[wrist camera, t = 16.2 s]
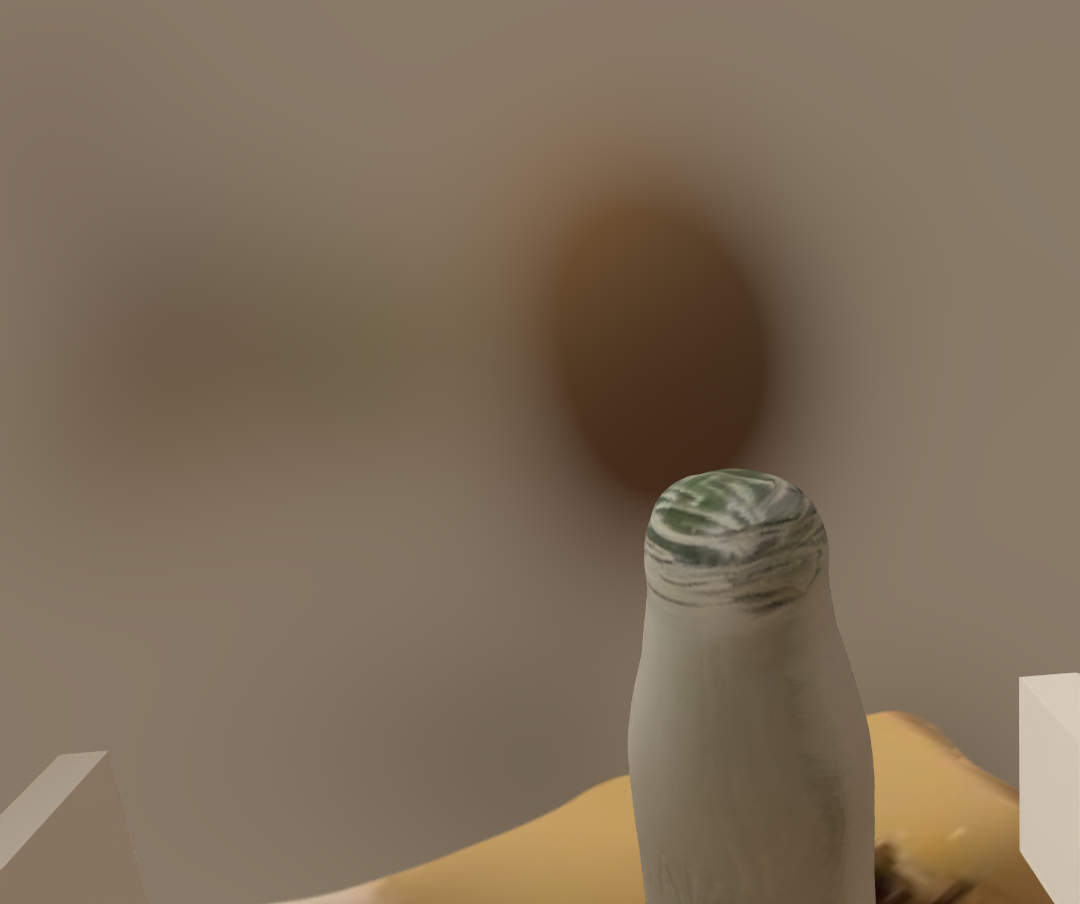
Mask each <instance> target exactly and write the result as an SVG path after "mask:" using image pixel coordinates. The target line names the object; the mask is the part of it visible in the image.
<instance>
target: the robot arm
mask: <svg viewBox="0 0 1080 904" xmlns="http://www.w3.org/2000/svg"><path fill="white" fill-rule="evenodd" d="M1019 693H1020V694H1019V697H1020V699H1019V704H1020V705H1019V709H1020V710H1019V712H1020V715H1019V720H1020V721H1019V722H1020V723H1019V728H1020V730H1019V732H1020V852H1021V854H1022V855H1023V857H1024V858H1025V860H1026V861H1027V863H1028V864H1029V866H1030V867H1031V869H1032V870H1033V872H1034V873H1035V875H1036V876H1037V878H1038V879H1039V881H1040V882H1041V884H1042V885H1043V887H1044V888H1045V890H1046V892H1047V893H1048V895H1049V896H1050V898H1051V899H1052V901H1053V902H1054V904H1080V675H1079V674H1078V673H1065V674H1053V675H1042V676H1028V677H1020V678H1019ZM0 904H148V902H147V898H146V894H145V890H144V886H143V882H142V879H141V875H140V871H139V867H138V863H137V860H136V855H135V851H134V848H133V844H132V840H131V836H130V832H129V828H128V824H127V821H126V817H125V813H124V809H123V805H122V801H121V797H120V793H119V790H118V786H117V782H116V778H115V774H114V771H113V766H112V763H111V759H110V755H109V752H108V751H100V752H88V753H76V754H64V755H59V756H58V757H57V758H56V759H55V760H54V761H53V762H52V763H51V764H50V765H49V766H48V767H47V768H46V769H45V770H44V771H43V772H42V773H41V774H40V775H39V776H38V777H37V778H36V779H35V780H34V781H33V782H32V784H31V785H30V786H29V787H27V789H26V790H25V791H24V792H23V793H22V794H21V795H20V796H19V797H18V798H17V799H16V800H15V801H14V802H13V803H12V804H11V805H10V806H9V807H8V808H7V809H6V810H5V811H4V812H3V813H2V814H1V815H0Z"/></svg>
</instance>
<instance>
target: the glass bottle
mask: <svg viewBox="0 0 1080 904" xmlns="http://www.w3.org/2000/svg"><path fill="white" fill-rule="evenodd" d="M644 555H645V556H644V557H645V558H644V561H645V572H646V579H647V588H648V594H647V602H646V614H645V623H644V635H643V646H642V647H643V648H642V655H641V660H640V665H639V669H638V673H637V678H636V683H635V687H634V692H633V697H632V704H631V713H630V721H629V732H628V760H629V771H630V781H631V790H632V798H633V807H634V815H635V823H636V829H637V836H638V842H639V849H640V857H641V865H642V873H643V881H644V889H645V897H646V904H876V901H875V878H874V835H875V834H874V824H875V816H874V788H875V786H874V767H873V756H872V747H871V739H870V733H869V727H868V723H867V719H866V715H865V712H864V708H863V705H862V701H861V698H860V695H859V692H858V688H857V685H856V682H855V678H854V675H853V672H852V668H851V665H850V662H849V659H848V655H847V652H846V650H845V647H844V644H843V641H842V638H841V635H840V633H839V630H838V627H837V624H836V620H835V614H834V608H833V602H832V597H831V590H830V584H829V573H828V567H829V546H828V539H827V535H826V531H825V528H824V525H823V522H822V520H821V517H820V515H819V513H818V511H817V509H816V507H815V506H814V505H813V503H812V502H811V500H810V499H809V498H808V497H807V496H806V495H805V494H804V493H803V492H802V491H801V490H800V489H799V488H797V487H796V486H794V485H793V484H791V483H790V482H788V481H786V480H784V479H782V478H779V477H776V476H773V475H769V474H765V473H761V472H757V471H751V470H745V469H724V470H718V471H712V472H708V473H704V474H700V475H694V476H689V477H686V478H684V479H682V480H680V481H678V482H676V483H674V484H673V485H672V486H671V487H669V488H668V489H667V490H665V491H664V492H663V494H662V495H661V496H660V498H659V499H658V501H657V502H656V504H655V507H654V510H653V512H652V516H651V520H650V522H649V525H648V528H647V532H646V538H645V547H644Z"/></svg>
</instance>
